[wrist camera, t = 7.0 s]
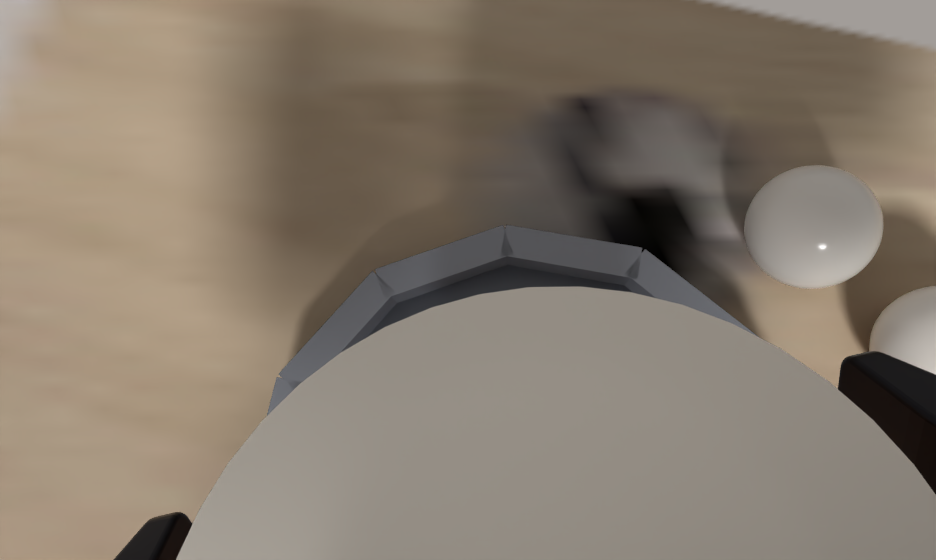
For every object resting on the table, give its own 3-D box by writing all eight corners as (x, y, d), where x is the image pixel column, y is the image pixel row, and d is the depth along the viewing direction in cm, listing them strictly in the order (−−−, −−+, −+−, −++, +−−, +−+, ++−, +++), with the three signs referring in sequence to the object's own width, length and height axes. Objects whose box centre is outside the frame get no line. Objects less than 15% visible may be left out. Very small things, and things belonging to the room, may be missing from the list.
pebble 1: (867, 237, 17) (939, 199, 14) (799, 322, 17) (860, 301, 14) (772, 169, 18) (823, 119, 15) (704, 250, 18) (744, 214, 15)
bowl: (902, 474, 16) (941, 479, 15) (562, 937, 14) (567, 993, 13) (498, 157, 18) (497, 134, 17) (169, 520, 17) (137, 529, 15)
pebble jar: (693, 494, 16) (1227, 688, 4) (542, 686, 15) (647, 1613, 3) (513, 341, 17) (514, 139, 5) (365, 514, 16) (-32, 746, 4)
